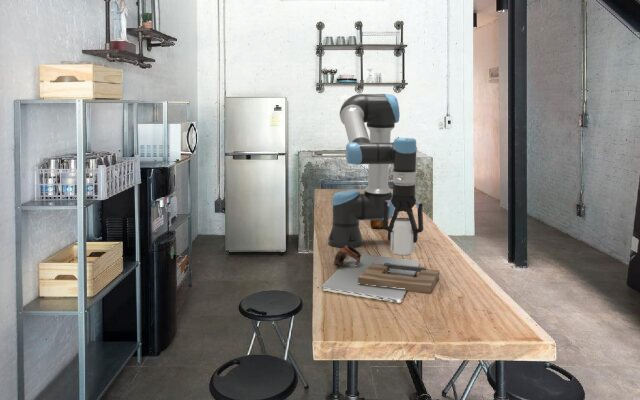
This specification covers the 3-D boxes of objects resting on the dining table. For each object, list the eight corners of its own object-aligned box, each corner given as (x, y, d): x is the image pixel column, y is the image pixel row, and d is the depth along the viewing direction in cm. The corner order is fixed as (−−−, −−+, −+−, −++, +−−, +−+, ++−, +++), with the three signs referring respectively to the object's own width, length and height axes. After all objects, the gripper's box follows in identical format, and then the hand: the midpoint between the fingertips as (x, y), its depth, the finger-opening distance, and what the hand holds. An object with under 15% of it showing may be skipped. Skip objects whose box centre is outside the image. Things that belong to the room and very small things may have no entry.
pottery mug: (338, 261, 207) (349, 243, 205) (356, 275, 202) (367, 257, 201) (323, 260, 196) (335, 242, 195) (342, 275, 192) (354, 256, 190)
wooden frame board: (372, 270, 193) (372, 263, 193) (439, 277, 184) (439, 270, 184) (357, 284, 176) (358, 277, 176) (430, 293, 168) (430, 285, 167)
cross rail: (385, 271, 192) (385, 262, 191) (426, 275, 186) (426, 267, 186) (383, 272, 190) (384, 264, 189) (425, 277, 185) (425, 268, 184)
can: (400, 250, 186) (401, 216, 184) (415, 253, 182) (416, 219, 180) (389, 253, 182) (389, 219, 180) (404, 256, 177) (405, 221, 175)
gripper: (373, 184, 178) (372, 250, 182) (430, 186, 171) (428, 256, 175) (379, 181, 185) (378, 245, 188) (434, 184, 178) (432, 250, 181)
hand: (402, 250), depth 181 cm, fingers closed on can, 6 cm apart
